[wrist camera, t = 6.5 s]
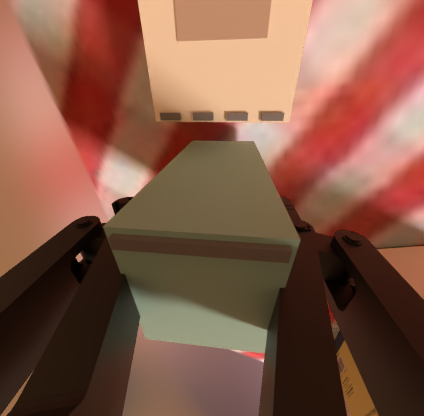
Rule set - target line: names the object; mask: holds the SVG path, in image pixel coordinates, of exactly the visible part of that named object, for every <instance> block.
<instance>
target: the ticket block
mask: <svg viewBox="0 0 424 416" xmlns="http://www.w3.org/2000/svg"><path fill="white" fill-rule="evenodd" d="M312 2H313V0H138V5H139V12H140V19H141V26H142V32H143V39H144V46H145V53H146V59H147V66H148V73H149V80H150V87H151V93H152V100H153V107H154V114H155V120H156V122H274V123H289V120H290V115H291V110H292V105H293V100H294V95H295V89H296V84H297V79H298V74H299V69H300V64H301V58H302V53H303V48H304V43H305V38H306V33H307V28H308V22H309V17H310V12H311V7H312Z"/></svg>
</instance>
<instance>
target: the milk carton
mask: <svg viewBox="0 0 424 416" xmlns="http://www.w3.org/2000/svg"><path fill="white" fill-rule="evenodd" d="M377 250H378V251H379V252H380V253H381V254H382V255H383V256H384V258H385V259H386V260H387V261H388V262H389V263H390V264H391V265H392V266H393V267H394V268H395V269H396V270H397V271H398V272H399V274H400V275H401V276H402V277H403V278H404V279H405V280H406V281H407V282H408V283H409V284H410V285H411V286H412V287H413V289H414V290H415V291H416V292H417V293H418V294H419V295H420V296H421V297H422V298H423V299H424V246H415V247H400V248H386V249H377Z"/></svg>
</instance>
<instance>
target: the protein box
mask: <svg viewBox="0 0 424 416" xmlns="http://www.w3.org/2000/svg"><path fill="white" fill-rule="evenodd" d="M334 344H335V349H336V355H337V361H338V366H339V372H340V378H341V383H342V389H343V394H344V400H345V406H346V411H347V416H379V415H378V413H377V411H376V409H375V406H374V404H373V402H372V400H371V397H370V395H369V393H368V391H367V388H366V386H365V384H364V382H363V380H362V377H361V375H360V373H359V371H358V368H357V366H356V364H355V362H354V359H353V357H352V355H351V353H350V350H349V348H348V346H347V344H346V342H345V339H344V337H343V335H342V333H341V330H340V332H339V334H338V336H337V338H336V340H335V341H334Z"/></svg>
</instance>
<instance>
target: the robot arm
mask: <svg viewBox="0 0 424 416" xmlns="http://www.w3.org/2000/svg"><path fill="white" fill-rule="evenodd" d="M132 198H133V197H125V198H121V199H118V200H116V201H114V202H113V203H112V207H113V210H114V213H115V215H116V214H117V213H118V212H119V211H120V210H121V209H122V208H123V207H124V206H125V205H126V204H127V203H128V202H129V201H130V200H131V199H132ZM281 200H282V202H283V204H284V206H285V208H286V210H287V212H288V214H289V216H290V218H291V221H292V223H293V225H294V227H295V229H296V231H297V233H298V235H299V237H300V239H301V240H300V243H299V246H298V249H297V253H296V256H295V259H294V262H293V265H292V268H291V271H290V274H289V277H288V281H287V284H286V287H285V288H280V290H279V293H278V297H277V300H276V303H275V307H274V310H273V313H272V317H271V320H270V323H269V326H268V330H267V339H266V348H265V358H264V368H263V377H262V387H261V397H260V406H259V416H347V411H346V406H345V400H344V394H343V389H342V383H341V378H340V372H339V366H338V361H337V355H336V349H335V344H334V338H333V333H332V327H331V321H330V316H329V310H328V304H329V306H330V308H331V310H332V313H333V315H334V317H335V319H336V321H337V324H338V326H339V328H340V330H341V333H342V335H343V337H344V339H345V342H346V344H347V346H348V348H349V350H350V353H351V355H352V357H353V359H354V362H355V364H356V366H357V368H358V371H359V373H360V375H361V377H362V380H363V382H364V384H365V386H366V388H367V391H368V393H369V395H370V397H371V400H372V402H373V404H374V406H375V409H376V411H377V413H378V415H379V416H424V299H423V298H422V297H421V296H420V295H419V294H418V293H417V292H416V291H415V290H414V289H413V287H412V286H411V285H410V284H409V283H408V282H407V281H406V280H405V279H404V278H403V277H402V276H401V275H400V274H399V272H398V271H397V270H396V269H395V268H394V267H393V266H392V265H391V264H390V263H389V262H388V261H387V260H386V259H385V258H384V256H383V255H382V254H381V253H380V252H379V251H378V250H377V249H376V248H375V247H374V246H373V245H372V244H371V243H370V241H369V240H367V239H366V238H365V237H363V236H361V235H360V234H358V233H356V232H352V231H347V230H339V231H336V232H335V234H334V236H333V237H330V236H326V235H322V234H319V233H316V232H315V231H314V228H313V227H312V226H311V225H310V224H309V223H307V222H305V221H302V220H301V219H300V217H299V215H298V214H297V212H296V210H295V208H294V206H293V205H292V203H291V201H290V200H289V199H287V198H286V197H281ZM105 224H106V223H101V222H100V219H99V218H98V217H96V216H85V217H81V218H79V219H77V220H75V221H73V222H72V223H71V224H69V225H68V226H67V227H65V228H64V229H63V230H61V231H60V232H59V233H57V234H56V235H55V236H53V237H52V238H51V239H50V240H48V241H47V242H46V243H44V244H43V245H42V246H40V247H39V248H38V249H37V250H36V251H34V252H33V253H31V254H30V255H29V256H28V257H26V258H25V259H24V260H22V261H21V262H20V263H18V264H17V265H16V266H15V267H13V268H12V269H11V270H9V271H8V272H7V273H5V274H4V275H3V276H1V277H0V415H1V414H2V413H3V411H4V410H5V408H6V407H7V406H8V404H9V403H10V402H11V400H12V399H13V398H14V396H15V395H16V393H17V392H18V391H19V389H20V388H21V387H22V385H23V384H24V382H25V381H26V380H27V378H28V377H29V376H30V374H31V373H32V372H33V373H32V375H31V377H30V379H29V380H28V382H27V384H26V386H25V388H24V390H23V391H22V393H21V395H20V397H19V399H18V401H17V402H16V404H15V405H14V407H13V408H12V410H11V411H10V412H9V413H8V414H7V416H122V413H123V408H124V402H125V397H126V392H127V386H128V381H129V375H130V369H131V364H132V359H133V353H134V348H135V343H136V337H137V331H138V326H139V321H140V314H139V311H138V309H137V306H136V303H135V300H134V298H133V295H132V292H131V290H130V287H129V284H128V281H127V279H126V276H125V274H121V273H120V270H119V268H118V265H117V262H116V260H115V257H114V255H113V252H112V249H111V247H110V244H109V241H108V239H107V236H106V234H105V231H104V228H103V226H104V225H105ZM79 253H81V255H82V257H83V259H82V260H81V261H80V262H78V261H77V259H76V258H75V257H76V256H77V255H78V254H79ZM352 279H353V280H352ZM327 301H328V304H327ZM33 370H34V371H33Z"/></svg>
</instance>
